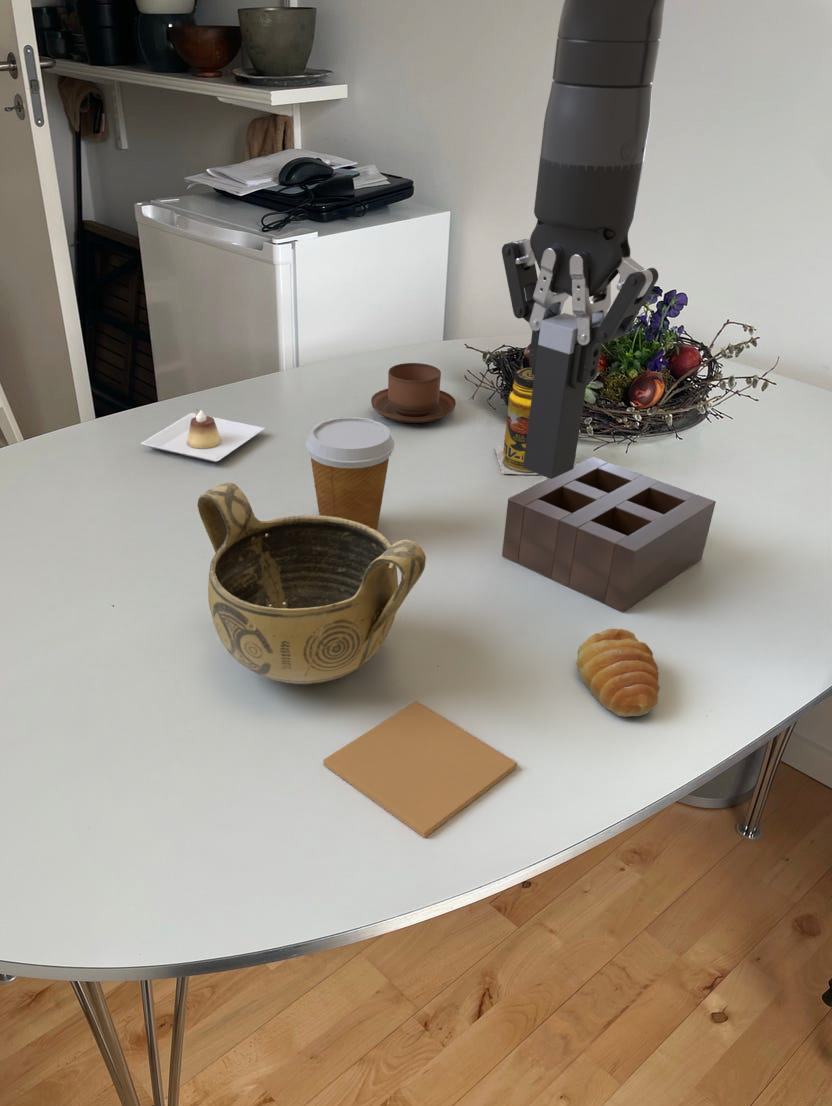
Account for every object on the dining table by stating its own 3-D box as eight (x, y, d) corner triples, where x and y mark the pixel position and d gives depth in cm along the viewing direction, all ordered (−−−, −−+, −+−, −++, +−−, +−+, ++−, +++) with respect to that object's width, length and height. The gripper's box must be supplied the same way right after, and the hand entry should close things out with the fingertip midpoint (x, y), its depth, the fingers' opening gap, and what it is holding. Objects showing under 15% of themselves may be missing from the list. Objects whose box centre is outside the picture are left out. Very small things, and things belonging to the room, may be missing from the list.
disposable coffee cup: (357, 505, 115) (359, 408, 108) (408, 536, 109) (413, 436, 102) (290, 527, 110) (287, 428, 104) (339, 561, 104) (339, 458, 97)
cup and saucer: (363, 401, 142) (364, 359, 139) (442, 396, 144) (445, 355, 141) (380, 432, 133) (381, 389, 129) (464, 427, 135) (468, 384, 131)
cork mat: (516, 768, 78) (517, 762, 77) (424, 838, 71) (424, 832, 71) (416, 705, 84) (416, 700, 84) (323, 765, 78) (323, 759, 77)
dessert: (191, 419, 136) (188, 386, 133) (265, 435, 132) (264, 401, 129) (140, 451, 127) (136, 416, 124) (218, 469, 123) (215, 433, 120)
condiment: (502, 475, 122) (512, 383, 115) (494, 447, 129) (502, 359, 122) (559, 475, 122) (573, 383, 115) (548, 447, 129) (560, 359, 122)
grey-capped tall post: (573, 469, 86) (596, 321, 78) (551, 479, 84) (573, 329, 77) (544, 457, 88) (564, 312, 80) (522, 467, 86) (540, 320, 79)
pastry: (674, 721, 83) (683, 685, 80) (597, 725, 82) (603, 689, 80) (639, 656, 90) (646, 622, 88) (568, 660, 90) (573, 626, 88)
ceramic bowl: (457, 659, 90) (470, 514, 81) (350, 758, 78) (352, 603, 70) (271, 584, 100) (265, 449, 92) (153, 662, 89) (133, 516, 80)
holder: (701, 559, 105) (716, 501, 101) (622, 612, 96) (635, 551, 92) (583, 511, 114) (592, 456, 110) (501, 556, 105) (507, 498, 101)
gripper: (704, 160, 69) (657, 392, 79) (546, 136, 78) (522, 349, 88) (646, 172, 65) (604, 415, 75) (485, 145, 73) (467, 368, 83)
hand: (560, 379), depth 81 cm, fingers closed on grey-capped tall post, 3 cm apart
